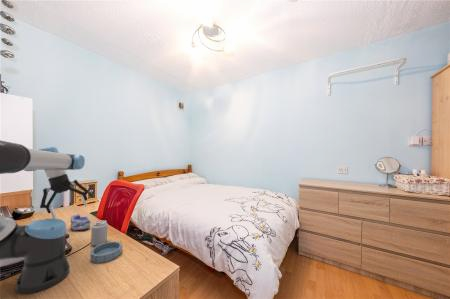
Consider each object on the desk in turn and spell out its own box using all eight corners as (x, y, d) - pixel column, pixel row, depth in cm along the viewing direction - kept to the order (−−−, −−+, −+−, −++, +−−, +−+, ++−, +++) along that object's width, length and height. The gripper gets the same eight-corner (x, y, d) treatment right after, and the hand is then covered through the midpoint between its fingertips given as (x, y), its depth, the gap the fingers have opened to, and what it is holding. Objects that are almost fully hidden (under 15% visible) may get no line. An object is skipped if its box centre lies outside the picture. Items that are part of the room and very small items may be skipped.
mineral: (67, 214, 115) (86, 210, 123) (67, 228, 116) (86, 222, 124) (73, 223, 107) (93, 217, 115) (73, 237, 108) (92, 231, 116)
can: (88, 244, 97) (89, 222, 97) (102, 238, 104) (103, 218, 104) (95, 248, 94) (96, 226, 94) (109, 242, 100) (110, 221, 101)
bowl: (115, 261, 83) (116, 254, 83) (84, 264, 80) (84, 257, 80) (125, 246, 96) (125, 240, 96) (98, 249, 93) (98, 242, 93)
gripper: (86, 167, 103) (98, 200, 106) (26, 183, 88) (42, 220, 92) (85, 168, 96) (98, 203, 100) (20, 185, 82) (37, 225, 86)
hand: (71, 211), depth 96 cm, fingers open, 13 cm apart
